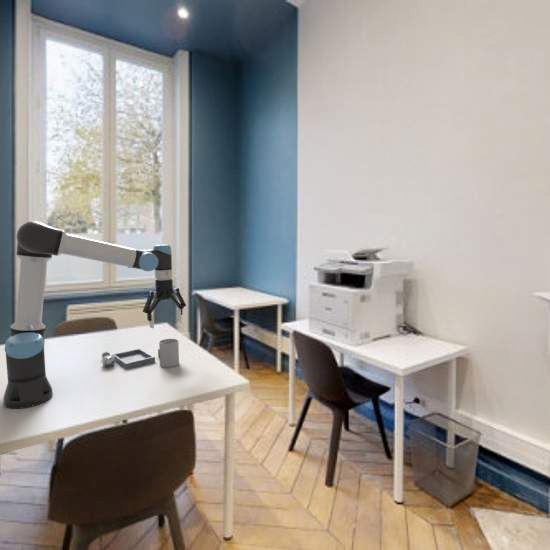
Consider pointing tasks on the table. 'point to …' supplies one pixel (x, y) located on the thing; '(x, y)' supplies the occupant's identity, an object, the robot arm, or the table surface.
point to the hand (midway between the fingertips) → (165, 324)
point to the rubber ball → (105, 354)
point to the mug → (169, 353)
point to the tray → (133, 358)
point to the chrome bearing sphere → (108, 361)
